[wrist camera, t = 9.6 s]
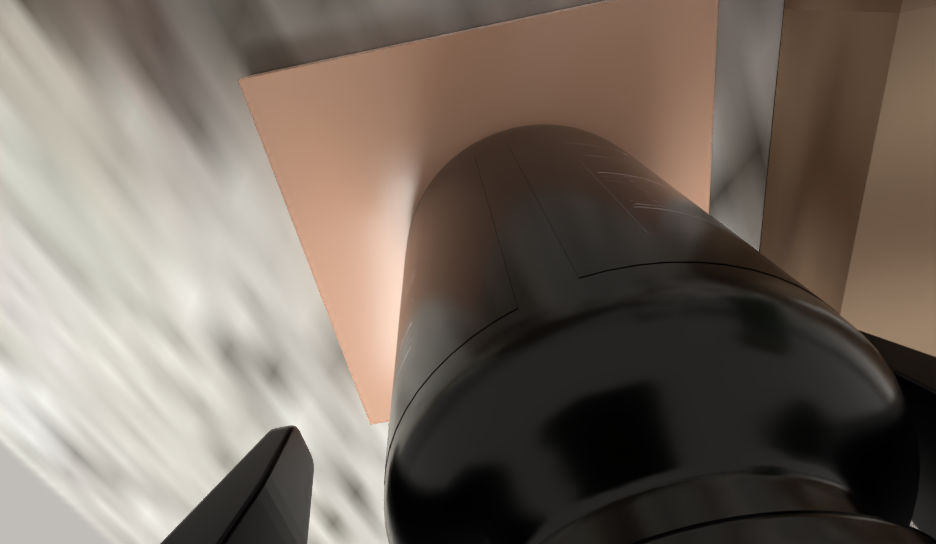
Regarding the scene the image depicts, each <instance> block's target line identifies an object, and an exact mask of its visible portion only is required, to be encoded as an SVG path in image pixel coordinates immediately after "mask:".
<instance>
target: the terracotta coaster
mask: <svg viewBox="0 0 936 544" xmlns="http://www.w3.org/2000/svg"><path fill="white" fill-rule="evenodd" d="M717 20H718V0H604V1H600V2H595V3H590V4H585V5H581V6H576V7H571V8H566V9H562V10H557V11H552V12H547V13H543V14H538V15H533V16H528V17H524V18H519V19H514V20H509V21H505V22H500V23H495V24H490V25H486V26H481V27H476V28H472V29H467V30H462V31H457V32H453V33H448V34H443V35H438V36H434V37H429V38H424V39H419V40H415V41H410V42H405V43H400V44H396V45H391V46H386V47H381V48H377V49H372V50H367V51H362V52H358V53H353V54H348V55H344V56H339V57H334V58H329V59H325V60H320V61H315V62H310V63H306V64H301V65H296V66H291V67H287V68H282V69H277V70H272V71H268V72H263V73H258V74H253V75H249V76H247V77H244V78H242V79H239V80H238V81H239V83H240V86H241V89H242V91H243V94H244V96H245V99H246V102H247V104H248V107H249V109H250V112H251V115H252V117H253V120H254V123H255V125H256V128H257V130H258V133H259V136H260V138H261V141H262V143H263V146H264V149H265V151H266V154H267V156H268V159H269V162H270V164H271V167H272V169H273V172H274V175H275V177H276V180H277V182H278V185H279V188H280V190H281V193H282V195H283V198H284V201H285V203H286V206H287V209H288V211H289V214H290V216H291V219H292V222H293V224H294V227H295V229H296V232H297V235H298V237H299V240H300V242H301V245H302V248H303V250H304V253H305V255H306V258H307V261H308V263H309V266H310V268H311V271H312V274H313V276H314V279H315V281H316V284H317V287H318V289H319V292H320V295H321V297H322V300H323V302H324V305H325V308H326V310H327V313H328V315H329V318H330V321H331V323H332V326H333V328H334V331H335V334H336V336H337V339H338V341H339V344H340V347H341V349H342V352H343V354H344V357H345V360H346V362H347V365H348V368H349V370H350V373H351V375H352V378H353V381H354V383H355V386H356V388H357V391H358V394H359V396H360V399H361V401H362V404H363V407H364V409H365V412H366V414H367V417H368V420H369V422H370V425H371V424H376V423H382V422H387V421H389V420H390V410H391V399H392V388H393V378H394V367H395V357H396V346H397V336H398V325H399V315H400V304H401V294H402V283H403V272H404V262H405V253H406V246H407V239H408V233H409V228H410V225H411V221H412V218H413V215H414V212H415V210H416V207H417V205H418V202H419V200H420V199H421V197H422V195H423V193H424V191H425V190H426V188H427V187H428V185H429V184H430V182H431V181H432V179H433V178H434V177H435V176H436V175H437V173H438V172H439V171H440V170H441V169H442V168H443V167H444V166H445V165H446V164H447V163H448V162H449V161H450V160H451V159H453V158H454V157H455V156H456V155H457V154H459V153H460V152H461V151H463V150H464V149H466V148H467V147H469V146H470V145H472V144H474V143H476V142H478V141H480V140H481V139H483V138H485V137H488V136H490V135H493V134H495V133H498V132H501V131H504V130H508V129H511V128H516V127H521V126H527V125H538V124H548V125H561V126H568V127H573V128H577V129H581V130H584V131H587V132H590V133H593V134H595V135H597V136H599V137H602V138H604V139H606V140H608V141H609V142H611V143H613V144H614V145H616V146H618V147H619V148H621V149H622V150H624V151H625V152H626V153H628V154H630V155H631V156H632V157H634V158H635V159H636V160H638V161H639V162H640V163H642V164H643V165H644V166H646V167H647V168H648V169H650V170H651V171H652V172H654V173H655V174H656V175H658V176H659V177H660V178H662V179H663V180H664V181H665V182H667V183H668V184H669V185H671V186H672V187H673V188H675V189H676V190H677V191H679V192H680V193H681V194H683V195H684V196H685V197H687V198H688V199H689V200H691V201H692V202H693V203H695V204H696V205H697V206H699V207H700V208H701V209H703V210H704V211H705V212H707V213H708V214H709V200H710V177H711V155H712V132H713V110H714V88H715V65H716V43H717Z"/></svg>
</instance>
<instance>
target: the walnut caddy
mask: <svg viewBox="0 0 936 544" xmlns="http://www.w3.org/2000/svg"><path fill="white" fill-rule="evenodd" d="M760 253H761V254H762V255H764V256H765V257H766V258H768V259H769V260H770V261H772V262H773V263H774V264H776V265H777V266H778V267H779V268H781V269H782V270H783V271H785V272H786V273H787V274H789V275H790V276H791V277H793V278H794V279H795V280H797V281H798V282H799V283H801V284H802V285H803V286H805V287H806V288H807V289H809V290H810V291H811V292H812V293H814V294H815V295H816V296H818V297H819V298H820V299H821V300H823V301H824V302H825V303H827V304H828V305H829V306H830V307H832V308H833V309H834V310H835V311H836V312H837V313H838V314H839V315H841V316H842V317H843V318H844V319H846V320H847V321H848V322H849V323H851V324H852V325H853V326H854V327H855V328H856V329H857V330H860V331H863V332H866V333H869V334H871V335H874V336H877V337H880V338H883V339H886V340H889V341H892V342H894V343H897V344H900V345H903V346H906V347H909V348H912V349H914V350H917V351H920V352H923V353H926V354H929V355H932V356H935V357H936V0H785V6H784V16H783V26H782V36H781V46H780V56H779V66H778V76H777V86H776V96H775V106H774V116H773V126H772V136H771V146H770V156H769V165H768V175H767V185H766V195H765V205H764V215H763V225H762V235H761V245H760Z"/></svg>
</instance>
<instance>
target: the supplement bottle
mask: <svg viewBox="0 0 936 544" xmlns="http://www.w3.org/2000/svg"><path fill="white" fill-rule="evenodd" d="M919 479H920V458H919V447H918V439H917V435H916V431H915V427H914V423H913V419H912V416H911V412H910V409H909V406H908V403H907V401H906V398H905V396H904V394H903V392H902V389H901V387H900V385H899V383H898V381H897V379H896V377H895V375H894V373H893V372H892V370H891V369H890V367H889V366H888V364H887V363H886V361H885V360H884V358H883V357H882V356H881V354H880V353H879V352H878V350H877V349H876V348H875V347H874V346H873V345H872V344H871V343H870V342H869V340H868V339H867V338H866V337H865V336H864V335H863V334H862V333H861V332H859V331H858V330H857V329H856V328H855V327H854V326H853V325H852V324H851V323H849V322H848V321H847V320H846V319H844V318H843V317H842V316H841V315H839V314H838V313H837V312H836V311H835V310H834V309H833V308H832V307H830V306H829V305H828V304H827V303H825V302H824V301H823V300H821V299H820V298H819V297H818V296H816V295H815V294H814V293H812V292H811V291H810V290H809V289H807V288H806V287H805V286H803V285H802V284H801V283H799V282H798V281H797V280H795V279H794V278H793V277H791V276H790V275H789V274H787V273H786V272H785V271H783V270H782V269H781V268H779V267H778V266H777V265H776V264H774V263H773V262H772V261H770V260H769V259H768V258H766V257H765V256H764V255H762V254H761V253H760V252H758V251H757V250H756V249H754V248H753V247H752V246H750V245H749V244H748V243H746V242H745V241H744V240H742V239H741V238H740V237H738V236H737V235H736V234H734V233H733V232H732V231H730V230H729V229H728V228H726V227H725V226H724V225H723V224H721V223H720V222H719V221H717V220H716V219H715V218H713V217H712V216H711V215H709V214H708V213H707V212H705V211H704V210H703V209H701V208H700V207H699V206H697V205H696V204H695V203H693V202H692V201H691V200H689V199H688V198H687V197H685V196H684V195H683V194H681V193H680V192H679V191H677V190H676V189H675V188H673V187H672V186H671V185H669V184H668V183H667V182H665V181H664V180H663V179H662V178H660V177H659V176H658V175H656V174H655V173H654V172H652V171H651V170H650V169H648V168H647V167H646V166H644V165H643V164H642V163H640V162H639V161H638V160H636V159H635V158H634V157H632V156H631V155H630V154H628V153H626V152H625V151H624V150H622V149H621V148H619V147H618V146H616V145H614V144H613V143H611V142H609V141H608V140H606V139H604V138H602V137H599V136H597V135H595V134H593V133H590V132H587V131H584V130H581V129H577V128H573V127H568V126H561V125H548V124H538V125H527V126H521V127H516V128H511V129H508V130H504V131H501V132H498V133H495V134H493V135H490V136H488V137H485V138H483V139H481V140H480V141H478V142H476V143H474V144H472V145H470V146H469V147H467V148H466V149H464V150H463V151H461V152H460V153H459V154H457V155H456V156H455V157H454V158H453V159H451V160H450V161H449V162H448V163H447V164H446V165H445V166H444V167H443V168H442V169H441V170H440V171H439V172H438V173H437V175H436V176H435V177H434V178H433V179H432V181H431V182H430V184H429V185H428V187H427V188H426V190H425V191H424V193H423V195H422V197H421V199H420V200H419V202H418V205H417V207H416V210H415V212H414V215H413V218H412V221H411V225H410V228H409V233H408V239H407V246H406V253H405V262H404V272H403V283H402V294H401V304H400V315H399V325H398V336H397V346H396V357H395V367H394V378H393V388H392V399H391V410H390V420H389V431H388V442H387V453H386V466H385V481H384V485H385V489H384V515H385V527H386V532H387V537H388V541H389V544H936V539H935V538H933V537H931V536H930V535H928V534H926V533H924V532H922V531H920V530H918V529H916V528H913V527H911V526H909V525H910V522H911V520H912V517H913V514H914V509H915V505H916V500H917V496H918V492H919Z"/></svg>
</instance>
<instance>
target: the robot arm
mask: <svg viewBox="0 0 936 544" xmlns="http://www.w3.org/2000/svg"><path fill="white" fill-rule="evenodd" d="M858 331H859V332H861V333H862V334H863V335H864V336H865V337H866V338H867V339H868V340H869V342H870V343H871V344H872V345H873V346H874V347H875V348H876V349H877V350H878V352H879V353H880V354H881V356H882V357H883V358H884V360H885V361H886V363H887V364H888V366H889V367H890V369H891V370H892V372H893V373H894V375H895V377H896V379H897V381H898V383H899V385H900V387H901V389H902V392H903V394H904V396H905V398H906V401H907V403H908V406H909V409H910V412H911V416H912V419H913V423H914V427H915V431H916V435H917V439H918V447H919V458H920V479H919V492H918V496H917V500H916V505H915V509H914V514H913V517H912V522H913V523H914V524H915V525H916V527H917V528H918V529H919V530H920V531H922V532H924V533H926V534H928V535H930V536H931V537H933V538H935V539H936V357H935V356H932V355H929V354H926V353H923V352H920V351H917V350H914V349H912V348H909V347H906V346H903V345H900V344H897V343H894V342H892V341H889V340H886V339H883V338H880V337H877V336H874V335H871V334H869V333H866V332H863V331H860V330H858ZM313 474H314V464H313V459H312V456H311V454H310V452H309V449H308V447H307V445H306V443H305V441H304V439H303V437H302V435H301V433H300V431H299V429H298V428H297V427H296V426H286V427H280V428H275V429H272V430H271V431H269V432H268V433H267V434H266V435H265V436H264V437H263V438H262V439H261V440H260V441H259V442H258V443H257V445H256V446H255V447H254V448H253V449H252V450H251V451H250V452H249V453H248V454H247V455H246V456H245V457H244V458H243V459H242V460H241V461H240V462H239V463H238V464H237V465H236V466H235V467H234V468H233V469H232V470H231V471H230V472H229V473H228V474H227V475H226V477H225V478H224V479H223V480H222V481H221V482H220V483H219V484H218V485H217V486H216V487H215V488H214V489H213V490H212V491H211V492H210V493H209V494H208V495H207V496H206V497H205V498H204V499H203V500H202V501H201V502H200V503H199V504H198V505H197V506H196V507H195V509H194V510H193V511H192V512H191V513H190V514H189V515H188V516H187V517H186V518H185V519H184V520H183V521H182V522H181V523H180V524H179V525H178V526H177V527H176V528H175V529H174V530H173V531H172V532H171V533H170V534H169V535H168V536H167V537H166V538H165V539H164V541H163V542H162V543H161V544H307V540H308V529H309V518H310V507H311V496H312V485H313Z"/></svg>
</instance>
